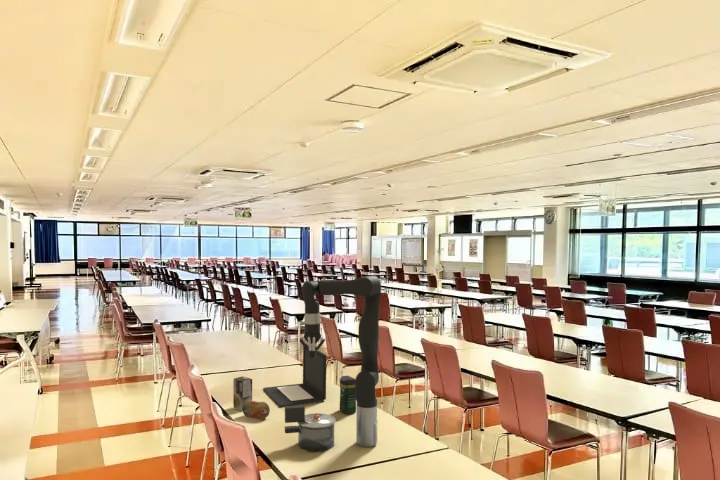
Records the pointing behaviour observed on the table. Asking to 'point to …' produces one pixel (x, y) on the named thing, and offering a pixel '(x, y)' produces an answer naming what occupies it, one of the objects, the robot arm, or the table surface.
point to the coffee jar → (347, 395)
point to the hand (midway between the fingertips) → (312, 358)
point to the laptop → (303, 384)
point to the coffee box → (241, 391)
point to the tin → (256, 409)
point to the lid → (307, 417)
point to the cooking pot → (313, 437)
